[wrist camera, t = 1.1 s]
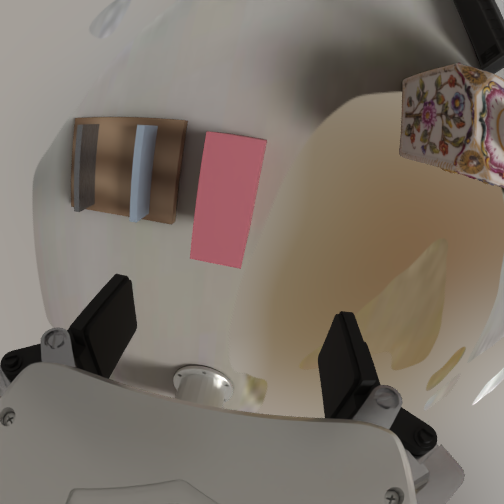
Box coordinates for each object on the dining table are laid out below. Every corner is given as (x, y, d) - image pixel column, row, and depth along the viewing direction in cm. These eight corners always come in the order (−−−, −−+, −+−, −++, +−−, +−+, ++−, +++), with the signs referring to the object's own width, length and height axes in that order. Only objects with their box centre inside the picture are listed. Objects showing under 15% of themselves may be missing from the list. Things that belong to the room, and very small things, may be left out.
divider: (148, 213, 35) (136, 222, 32) (142, 212, 35) (129, 221, 32) (157, 125, 30) (144, 125, 27) (151, 125, 30) (137, 124, 27)
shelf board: (175, 221, 37) (171, 224, 36) (76, 204, 37) (71, 206, 36) (187, 120, 31) (184, 120, 30) (81, 118, 31) (75, 118, 30)
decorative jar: (400, 77, 27) (483, 51, 10) (461, 100, 26) (547, 101, 10) (396, 158, 31) (482, 184, 15) (457, 173, 31) (541, 206, 15)
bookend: (94, 204, 35) (79, 212, 32) (89, 203, 35) (74, 211, 32) (99, 124, 30) (82, 124, 27) (94, 124, 30) (77, 124, 27)
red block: (249, 227, 37) (240, 268, 26) (213, 221, 37) (190, 258, 26) (267, 140, 32) (265, 140, 21) (227, 133, 32) (206, 131, 21)
